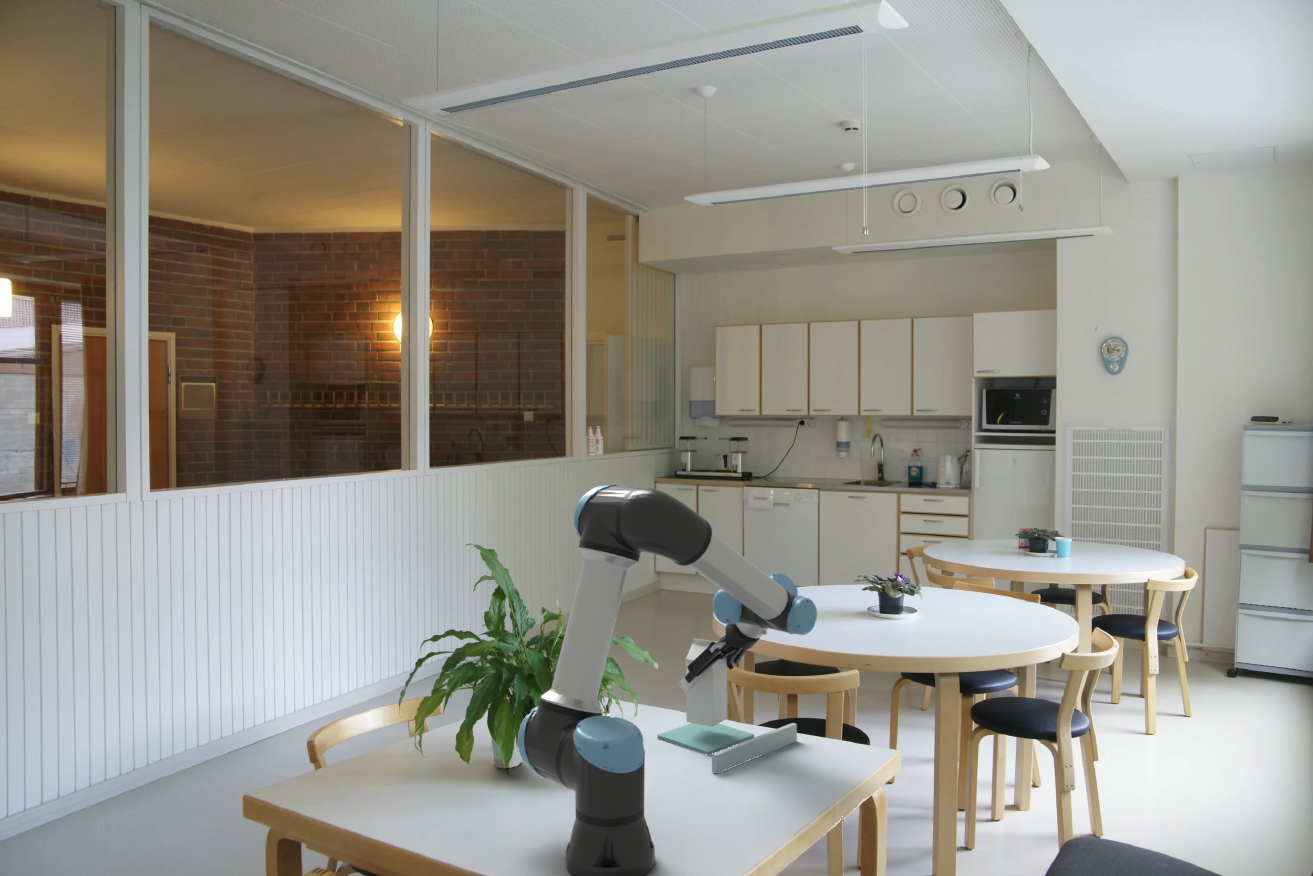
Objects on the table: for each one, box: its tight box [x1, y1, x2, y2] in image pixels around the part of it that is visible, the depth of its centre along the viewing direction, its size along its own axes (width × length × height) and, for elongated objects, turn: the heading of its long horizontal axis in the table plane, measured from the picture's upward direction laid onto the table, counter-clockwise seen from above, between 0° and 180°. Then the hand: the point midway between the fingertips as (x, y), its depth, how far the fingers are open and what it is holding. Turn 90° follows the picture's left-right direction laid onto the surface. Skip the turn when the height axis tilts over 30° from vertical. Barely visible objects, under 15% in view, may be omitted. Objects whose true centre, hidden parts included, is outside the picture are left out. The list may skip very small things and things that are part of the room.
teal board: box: [657, 723, 755, 756], centre depth 222 cm, size 16×16×1 cm
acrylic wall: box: [711, 722, 798, 774], centre depth 210 cm, size 28×1×4 cm, turn 135°
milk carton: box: [685, 638, 728, 727], centre depth 222 cm, size 7×7×19 cm
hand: (696, 683), depth 225 cm, fingers closed on milk carton, 8 cm apart
